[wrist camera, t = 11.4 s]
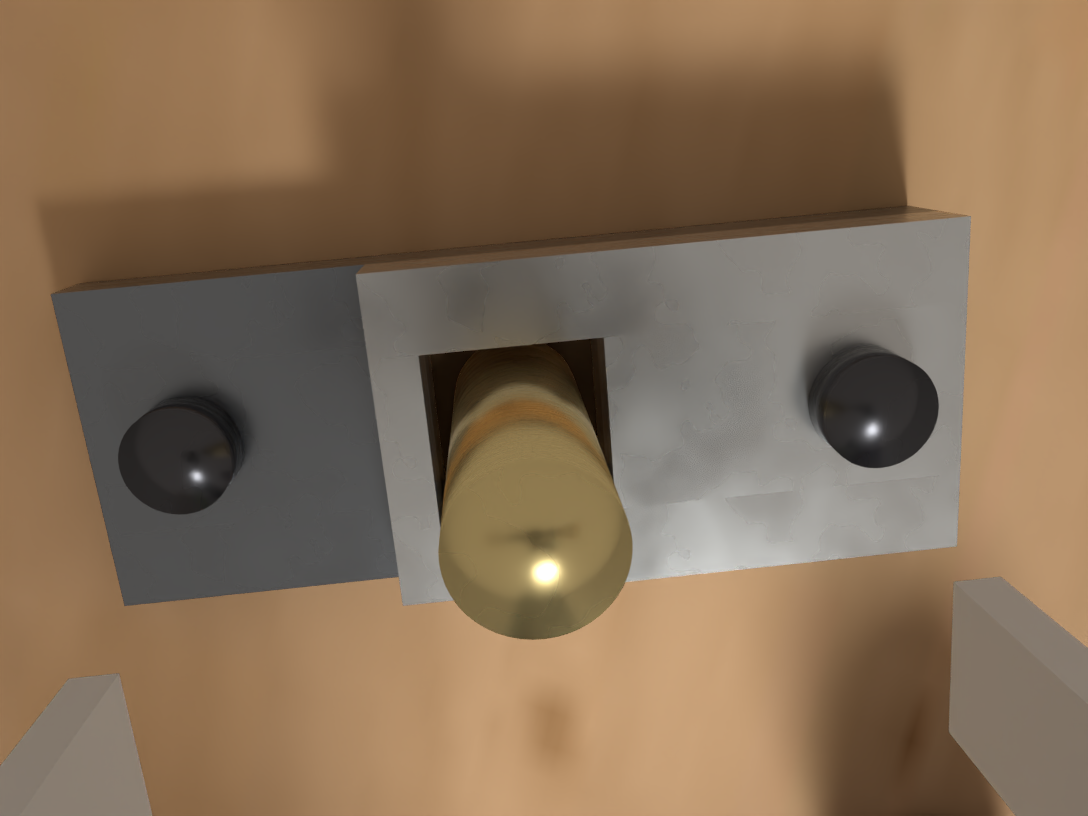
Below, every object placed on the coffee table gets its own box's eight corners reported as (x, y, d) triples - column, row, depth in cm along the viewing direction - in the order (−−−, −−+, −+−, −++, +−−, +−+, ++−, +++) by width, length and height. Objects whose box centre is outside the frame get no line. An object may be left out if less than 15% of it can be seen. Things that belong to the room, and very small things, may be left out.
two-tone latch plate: (901, 498, 33) (980, 566, 28) (146, 577, 32) (80, 663, 27) (908, 205, 30) (997, 220, 25) (79, 283, 29) (-9, 316, 24)
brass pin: (581, 447, 31) (638, 628, 20) (462, 460, 31) (450, 649, 20) (571, 331, 30) (625, 450, 19) (448, 343, 30) (426, 471, 19)
